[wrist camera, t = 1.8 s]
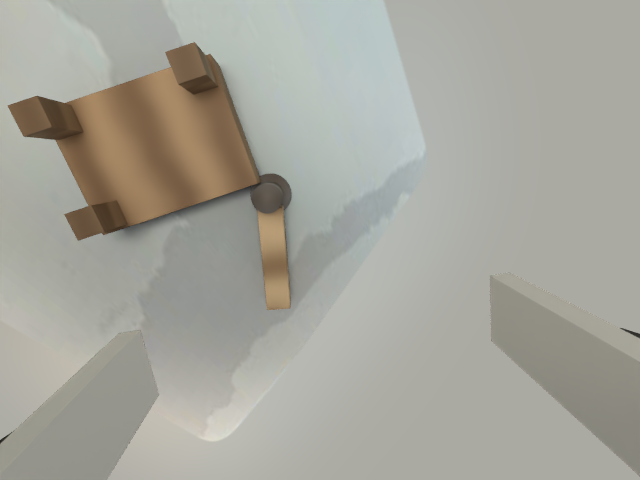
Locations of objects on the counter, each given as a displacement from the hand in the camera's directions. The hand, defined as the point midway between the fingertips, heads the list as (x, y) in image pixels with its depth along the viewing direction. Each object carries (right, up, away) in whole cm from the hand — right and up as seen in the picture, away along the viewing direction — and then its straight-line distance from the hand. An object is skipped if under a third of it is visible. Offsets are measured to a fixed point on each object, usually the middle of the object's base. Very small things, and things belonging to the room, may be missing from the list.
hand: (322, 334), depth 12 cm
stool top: (-14, +12, +22) cm, 29 cm away
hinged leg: (-5, +3, +24) cm, 25 cm away
